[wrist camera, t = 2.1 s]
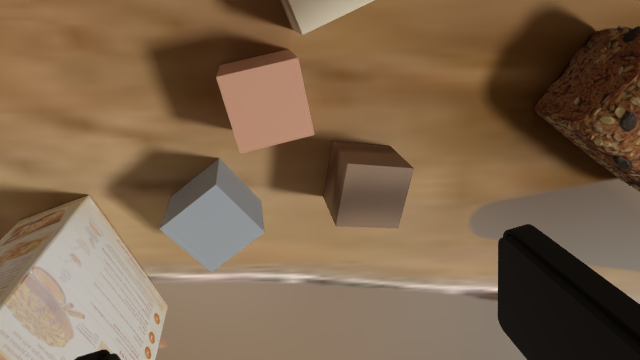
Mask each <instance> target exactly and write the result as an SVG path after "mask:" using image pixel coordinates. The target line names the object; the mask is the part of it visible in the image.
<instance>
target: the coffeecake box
mask: <svg viewBox="0 0 640 360" xmlns="http://www.w3.org/2000/svg"><path fill="white" fill-rule="evenodd" d="M167 308H168V306H167V305H166V303H165V302H164V300H163V299H162V297H161V296H160V294H159V293H158V291H157V290H156V289H155V287H154V286H153V284H152V283H151V282H150V280H149V279H148V277H147V276H146V275H145V273H144V272H143V270H142V269H141V267H140V266H139V265H138V263H137V262H136V260H135V259H134V258H133V256H132V255H131V253H130V252H129V251H128V249H127V248H126V246H125V245H124V244H123V242H122V241H121V239H120V238H119V237H118V235H117V234H116V232H115V231H114V230H113V228H112V227H111V225H110V224H109V222H108V221H107V220H106V218H105V217H104V215H103V214H102V213H101V211H100V210H99V208H98V207H97V206H96V204H95V203H94V201H93V200H92V198H91V197H90V196H89V195H88V196H85V197H82V198H79V199H77V200H74V201H71V202H68V203H66V204H63V205H60V206H58V207H55V208H52V209H50V210H47V211H45V212H41V213H39V214H36V215H33V216H31V217H28V218H26V219H23V220H20V221H18V223H17V224H16V225H15V226H14V227H13V228H12V229H11V230H10V231H9V232H8V233H7V234H6V235H5V236H4V237H3V238H2V239H1V240H0V360H74V359H76V358H77V357H79V356H83V355H86V354H89V353H93V352H96V351H100V350H104V349H105V350H107V351H109V352H110V354H113V353H115V354H117V355H118V356H119V357H120V359H121V360H155V358H156V353H157V350H158V345H159V341H160V337H161V332H162V328H163V324H164V319H165V315H166V312H167Z"/></svg>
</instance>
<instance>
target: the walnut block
mask: <svg viewBox="0 0 640 360" xmlns="http://www.w3.org/2000/svg"><path fill="white" fill-rule="evenodd" d="M413 170H414V168H413V167H412V166H411V165H410V164H409V163H408V162H406V161H405V160H404V159H403V158H402V157H401V156H400V155H399V154H398V153H397V152H396V151H395V150H394V149H393V148H392V147H391V146H384V145H373V144H361V143H350V142H338V141H332V146H331V152H330V158H329V164H328V170H327V176H326V182H325V188H324V194H323V198H324V200H325V202H326V204H327V207H328V209H329V211H330V214H331V216H332V218H333V221H334V223H335V225H336V226H349V227H378V228H398V227H399V223H400V219H401V216H402V212H403V208H404V204H405V200H406V196H407V193H408V189H409V185H410V181H411V177H412V174H413Z"/></svg>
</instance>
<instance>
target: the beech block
mask: <svg viewBox="0 0 640 360" xmlns="http://www.w3.org/2000/svg"><path fill="white" fill-rule="evenodd" d="M280 1H281V4H282V6H283V8H284V11H285V13H286V15H287V18H288V20H289V22H290V25H291V27H292V29H293V30H294V31H296V32H298V33H300V34H302V35H303V34H305V33H308V32H310V31H312V30H314V29H316V28H318V27H320V26H322V25H324V24H326V23H328V22H330V21H333V20H335V19H337V18H339V17H341V16H343V15H345V14H347V13H349V12H351V11H353V10H355V9H358V8H360V7H362V6H364V5H366V4H368V3H370V2H372V1H374V0H280Z"/></svg>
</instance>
